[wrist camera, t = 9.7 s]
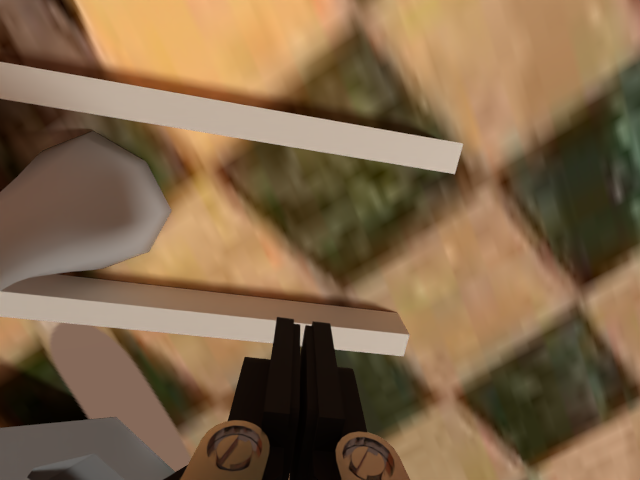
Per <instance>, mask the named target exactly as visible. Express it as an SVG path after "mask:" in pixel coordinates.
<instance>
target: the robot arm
mask: <svg viewBox="0 0 640 480" xmlns="http://www.w3.org/2000/svg"><path fill="white" fill-rule="evenodd" d="M289 473H290V477H289ZM288 479H289V480H410V479H409V476H408V474H407V472H406V470H405V468H404V466H403V464H402V461H401V459H400V457H399V456H398V454H397V452H396V451H395V449H394V448H393V447H392V446H391V445H390V444H389V443H388V442H387V441H385V440H384V439H382V438H380V437H379V436H377V435H374V434H371V433H368V432H367V429H366V424H365V420H364V415H363V411H362V406H361V402H360V397H359V393H358V388H357V384H356V379H355V375H354V371H353V369H351V368H342V367H337V363H336V357H335V350H334V344H333V337H332V331H331V325H330V323H323V322H315V321H313V322H312V326H309V325H306V326H305V330H304V336H303V342H302V348H301V354H300V324H294V319H290V318H281V317H277V320H276V327H275V334H274V341H273V348H272V355H271V360H269V359H259V358H250V357H245V358H244V362H243V365H242V369H241V373H240V377H239V381H238V384H237V388H236V392H235V396H234V400H233V403H232V407H231V411H230V415H229V419H228V421H226V422H223V423H221V424H218V425H216V426H214V427H213V428H212V429H210V430H209V431H208V432H207V433H206V434H205V436H204V437H203V438H202V440H201V441H200V443H199V445H198V447H197V449H196V451H195V453H194V455H193V456H192V458H191V460H190V462H189V464H188V465H187V466H185V467H183V468H182V469H180V470H179V471H177V472H175V473H173V474H172V475H170V476H168V477H167V478H165V479H163V480H288Z"/></svg>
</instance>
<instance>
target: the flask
mask: <svg viewBox="0 0 640 480" xmlns="http://www.w3.org/2000/svg"><path fill="white" fill-rule="evenodd" d="M170 213H171V209H170V207H169V205H168V203H167V201H166V199H165V197H164V195H163V193H162V191H161V190H160V188H159V186H158V184H157V182H156V180H155V178H154V176H153V174H152V172H151V170H150V168H149V166H148V165H147V163H146V161H144V160H142V159H140V158H139V157H137V156H135V155H134V154H132V153H130V152H128V151H127V150H125V149H123V148H122V147H120V146H118V145H116V144H115V143H113V142H111V141H110V140H108V139H106V138H104V137H103V136H101V135H99V134H98V133H96V132H94V131H92V132H89V133H87V134H84V135H82V136H79V137H77V138H74V139H71V140H69V141H66V142H64V143H61V144H59V145H56V146H53V147H51V148H48V149H46V150H43V151H42V152H41V153H40V154H39V155H37V156H36V157H35V158H34V159H33V160H32V162H31V163H30V164H29V165H28V166H27V167H26V168H25V169H24V170H23V171H22V172H21V173H20V174H19V175H18V176H17V177H16V178H15V179H14V180H13V181H12V182H11V183H10V184H9V185H8V186H6V187H5V188H4V189H3V190H2V191H1V192H0V291H1V290H3V289H5V288H7V287H8V286H10V285H12V284H14V283H15V282H18V281H21V280H24V279H27V278H31V277H38V276H44V275H51V274H58V273H65V272H73V271H85V270H96V269H102V268H106V267H109V266H111V265H114V264H117V263H119V262H122V261H125V260H128V259H130V258H133V257H136V256H138V255H141V254H144V253H146V252H149V251H150V249H151V247H152V245H153V244H154V242H155V240H156V238H157V236H158V234H159V233H160V231H161V229H162V227H163V225H164V224H165V222H166V220H167V218H168V216H169V214H170Z"/></svg>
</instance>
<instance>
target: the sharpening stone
mask: <svg viewBox="0 0 640 480" xmlns="http://www.w3.org/2000/svg"><path fill="white" fill-rule="evenodd" d="M173 473H175V472H174V470H173V469H171V468H170V467H169V466H168V465H167V464H166V463H165V462H164V461H163V460H162V459H161V458H160V457H159V456H157V455H156V454H155V453H154V452H153V451H152V450H151V449H150V448H149V447H148V446H147V445H146V444H145V443H144V442H143V441H141V440H140V439H139V438H138V437H137V436H136V435H135V434H134V433H133V432H132V431H131V430H130V429H128V427H126V426H125V425H124V424H123V423H122V422H121V421H120V420H119V419H118V418H117V417H110V418H99V419H89V420H78V421H68V422H57V423H47V424H36V425H26V426H16V427H5V428H0V480H163V479H165V478H167V477H168V476H170V475H172V474H173Z"/></svg>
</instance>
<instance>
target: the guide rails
mask: <svg viewBox="0 0 640 480" xmlns="http://www.w3.org/2000/svg"><path fill="white" fill-rule="evenodd" d="M0 99H5V100H11V101H17V102H23V103H29V104H36V105H42V106H48V107H54V108H60V109H66V110H72V111H78V112H84V113H90V114H96V115H102V116H108V117H114V118H120V119H126V120H132V121H138V122H144V123H150V124H156V125H162V126H168V127H174V128H180V129H186V130H192V131H199V132H205V133H211V134H217V135H223V136H229V137H235V138H241V139H247V140H253V141H259V142H265V143H271V144H277V145H283V146H289V147H295V148H301V149H307V150H313V151H319V152H325V153H331V154H337V155H343V156H349V157H355V158H361V159H368V160H374V161H380V162H386V163H392V164H398V165H404V166H410V167H416V168H422V169H428V170H434V171H440V172H446V173H452V174H455V171H456V168H457V164H458V160H459V157H460V153H461V150H462V146H463V144H462V143H456V142H451V141H445V140H439V139H434V138H428V137H422V136H417V135H411V134H406V133H400V132H394V131H389V130H383V129H377V128H372V127H366V126H360V125H355V124H349V123H343V122H338V121H332V120H327V119H321V118H315V117H310V116H304V115H298V114H293V113H287V112H281V111H276V110H270V109H264V108H259V107H253V106H247V105H242V104H236V103H231V102H225V101H219V100H214V99H208V98H202V97H197V96H191V95H185V94H180V93H174V92H168V91H163V90H157V89H151V88H146V87H140V86H135V85H129V84H123V83H118V82H112V81H106V80H101V79H95V78H89V77H84V76H78V75H72V74H67V73H61V72H55V71H50V70H44V69H39V68H33V67H27V66H22V65H16V64H10V63H5V62H0ZM0 317H10V318H20V319H31V320H41V321H51V322H61V323H71V324H81V325H92V326H102V327H112V328H122V329H132V330H143V331H153V332H163V333H173V334H183V335H193V336H204V337H214V338H224V339H234V340H244V341H255V342H265V343H273V341H274V334H275V327H276V320H277V317H281V318H290V319H294V324H300V346H302V342H303V336H304V330H305V326H306V325H309V326H312V322H313V321H315V322H323V323H330V325H331V331H332V337H333V344H334V349H336V350H346V351H356V352H367V353H377V354H387V355H397V356H404V353H405V349H406V345H407V342H408V338H409V333H408V331H407V329H406V327H405V325H404V324H403V322H402V320H401V318H400V316H399V314H398V313H394V312H385V311H377V310H368V309H359V308H350V307H341V306H332V305H324V304H315V303H306V302H297V301H288V300H279V299H271V298H262V297H253V296H244V295H235V294H226V293H218V292H209V291H200V290H191V289H182V288H173V287H165V286H156V285H147V284H138V283H129V282H120V281H112V280H103V279H94V278H85V277H76V276H68V275H59V274H51V275H44V276H38V277H31V278H27V279H24V280H21V281H18V282H15V283H14V284H12V285H10V286H8V287H7V288H5V289H3V290H1V291H0Z"/></svg>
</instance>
